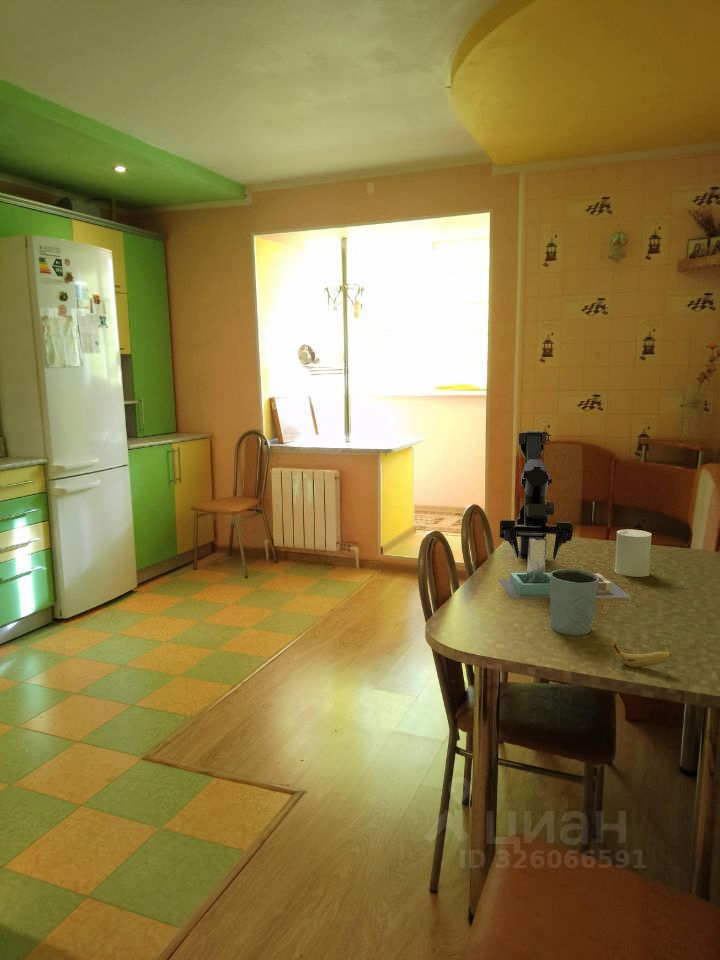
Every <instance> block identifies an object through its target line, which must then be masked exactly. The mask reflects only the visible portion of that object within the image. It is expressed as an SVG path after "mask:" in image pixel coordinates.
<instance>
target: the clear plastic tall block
mask: <svg viewBox="0 0 720 960" xmlns="http://www.w3.org/2000/svg"><path fill="white" fill-rule="evenodd" d="M546 556H547V539H546V537H544V538H540V537H531V538H529V548H528V558H527V568H526V573H527V582H526V583H544V574H545V573H546V572H545V571H546Z"/></svg>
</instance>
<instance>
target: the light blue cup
mask: <svg viewBox="0 0 720 960" xmlns="http://www.w3.org/2000/svg"><path fill="white" fill-rule="evenodd" d="M549 573H550V590H551V593H550V596H551V597H550V598H549V599H550V600H549V601H550V602H549V603H550V606H549V607H550V628H551V629H552V630H554V631H556V632H557V633H560V634H563V635H564V634H565V635H567V636H569V635H570V636H582V635H587V634H589V633H590V632H591V631H592V627H593V618H594V613H595V609H596V608H595V605H596V600H597V598H596V593H597V588H598V582H599V578H598V577H597V576H596V575H594V574H592V573H591V572H589V571H585V570H582V569H581V570H580V569H571V568H570V569H569V568H563V569H556V570H552V571H551V572H549Z"/></svg>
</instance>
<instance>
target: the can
mask: <svg viewBox="0 0 720 960" xmlns="http://www.w3.org/2000/svg"><path fill="white" fill-rule="evenodd" d="M652 535H653V534H652V532H648V531H645V530H639V529H629V528H627V529H619V530H617V531H616V543H615V544H616V546H615V564H614V572H615V573H616V574H618V575H621V576H627V577H633V578H636V577H637V578H639V577H642V578H643V577H647V576H648V577H649V576H650V564H651V563H650V562H651V545H652Z"/></svg>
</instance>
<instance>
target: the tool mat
mask: <svg viewBox="0 0 720 960" xmlns="http://www.w3.org/2000/svg"><path fill="white" fill-rule="evenodd" d="M604 578H605V579H607V580H608V581H609V582H610V583H611V593H596V599H632V596H630V594H629V593H627V592H625V591H624V590H623V589H622V588H621V587H619V586H618V585H617V584H616V583H615V582H613V581H612V580H611V579H609V578H608V577H607V578H606V577H604ZM497 580H498V582H499V583H500V585H501V586H502V588H503V589H504V590H505V592H506V594H507V595H508V596H509V598H510V599H513V600H516V599H517V600H518V599H519V600H520V599H525V600H528V599H531V600H532V599H533V600H534V599H550V597H551V596H550V594H523V595H520V594H519V593H518V592H517V590H516V589H515V588H514V586H513V585H512V584H511V582H510V578H505V579H504V578H499V579H498V578H497ZM524 584H526V583H524Z"/></svg>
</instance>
